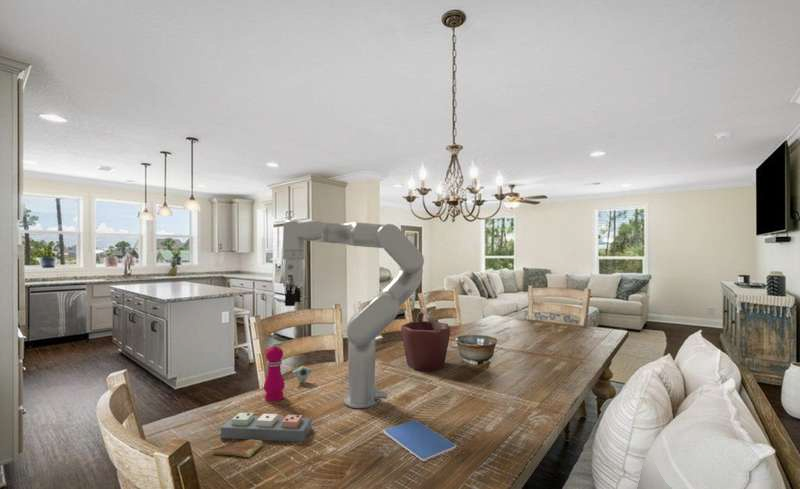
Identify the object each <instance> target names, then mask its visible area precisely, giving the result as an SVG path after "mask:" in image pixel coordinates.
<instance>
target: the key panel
mask: <svg viewBox="0 0 800 489" xmlns="http://www.w3.org/2000/svg"><path fill="white" fill-rule="evenodd" d="M236 415H237V414H235V415H233V416H232V417H231V418H230V419H228V421H226V423H224V424H223V425H222V426H220V439H237V440H248V439H252V440H260V441H276V442H277V441H280V442H281V441H282V442H299V443H300V442H304V441H305V438H306V437H307V436H308V434H309V433H310V431H311V430H312V419H313V418H311V417H302V423H301V424H300V425H299V427H298V428H283V427H282V421H283V420H284V418H285V417H286V416H278V421H277V422H276V423H275V424H274V425H273V427H260V426H257V420H258V419H259V418H260V417H261V416H262V415H254V418H253V420H252V421H251V422H250V423H249V424H248V425H247V426H237V425H232V419H233V418H234V417H235V416H236Z"/></svg>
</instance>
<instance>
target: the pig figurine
mask: <svg viewBox="0 0 800 489" xmlns="http://www.w3.org/2000/svg"><path fill="white" fill-rule="evenodd" d="M291 372H292V374H293V376H294V377H295V378H297V380H298V382H299V383H301V384H302V383H304V382H306V381H307V379H308V377H309V376H310V374H311V373H312V368H309V367H306V366H305V365H304V366H300V367H298V368H296V369H294V370H292V371H291Z"/></svg>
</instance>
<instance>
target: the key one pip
mask: <svg viewBox="0 0 800 489" xmlns="http://www.w3.org/2000/svg"><path fill="white" fill-rule="evenodd" d="M260 416H261V417H260V418H259V419H258V420H257V426H260V427H273V425H274V424H275V423H276V422H277V421H278V417H279V416H278V414H277V413H262V415H260Z"/></svg>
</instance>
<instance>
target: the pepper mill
mask: <svg viewBox="0 0 800 489" xmlns="http://www.w3.org/2000/svg"><path fill="white" fill-rule="evenodd" d="M271 346H272V347H270V348H268V349H267V350H266V353H265V358H266V360H267V361H266V363H267V364H266V366H268V371H267V372H268V373H267V375H266V378H265V381H264V384H263V390H264V392H265V394H264V399H265V401H267V402H277V401H280V400H283V399H284V392H283V390H284V389H285V384H286V383H285V379H284V377H283V374H282V371H281V365H282V359H283V356H284V351H283V349H282V348H281V347H279V346H278V344H277V343H276V342H273V343H272V344H271Z"/></svg>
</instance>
